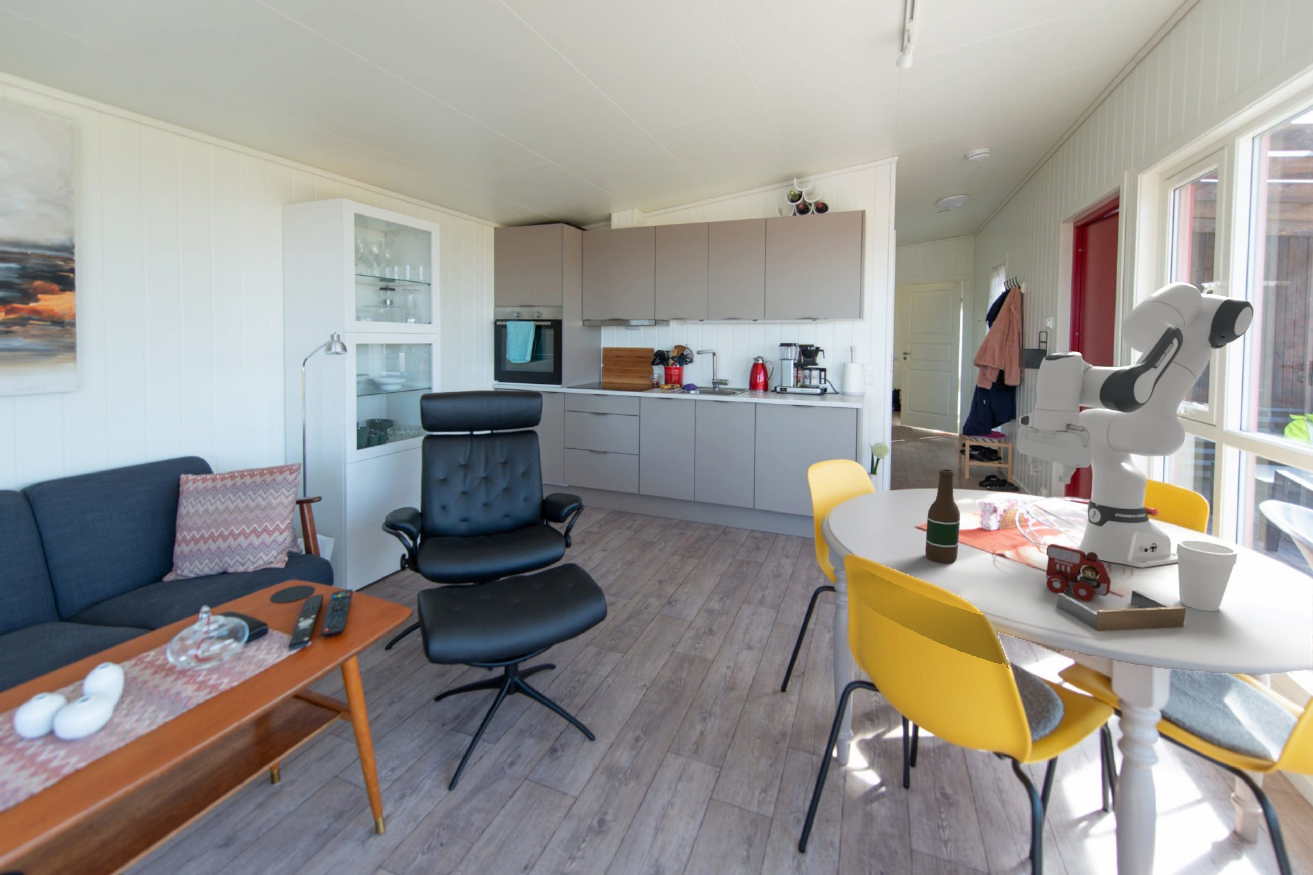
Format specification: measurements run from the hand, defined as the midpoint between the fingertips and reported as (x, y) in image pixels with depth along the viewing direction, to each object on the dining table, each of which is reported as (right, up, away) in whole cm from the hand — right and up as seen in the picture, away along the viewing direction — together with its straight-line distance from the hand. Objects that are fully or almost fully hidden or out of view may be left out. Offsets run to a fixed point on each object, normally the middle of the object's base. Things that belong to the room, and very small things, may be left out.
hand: (1049, 478), depth 141 cm
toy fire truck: (+1, -26, -7) cm, 27 cm away
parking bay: (+2, -27, -18) cm, 33 cm away
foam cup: (+24, -27, -13) cm, 38 cm away
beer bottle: (-18, -23, +16) cm, 33 cm away
